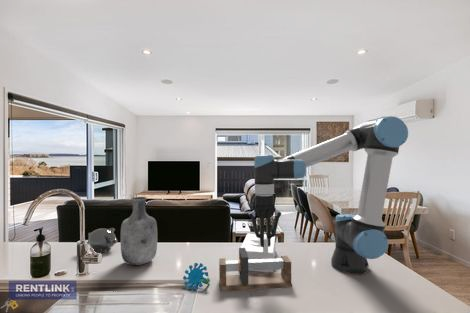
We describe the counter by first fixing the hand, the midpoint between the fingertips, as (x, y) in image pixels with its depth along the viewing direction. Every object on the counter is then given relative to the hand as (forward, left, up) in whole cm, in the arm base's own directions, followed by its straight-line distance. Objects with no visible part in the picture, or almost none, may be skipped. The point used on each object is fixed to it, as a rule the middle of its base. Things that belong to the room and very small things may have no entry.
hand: (265, 254), depth 104 cm
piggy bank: (+77, -41, -11) cm, 88 cm away
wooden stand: (+4, 0, -11) cm, 12 cm away
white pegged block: (-1, -22, -11) cm, 25 cm away
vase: (+54, -24, -11) cm, 60 cm away
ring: (+9, 0, -9) cm, 12 cm away
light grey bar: (+4, 0, -6) cm, 7 cm away
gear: (+27, 0, -11) cm, 29 cm away
